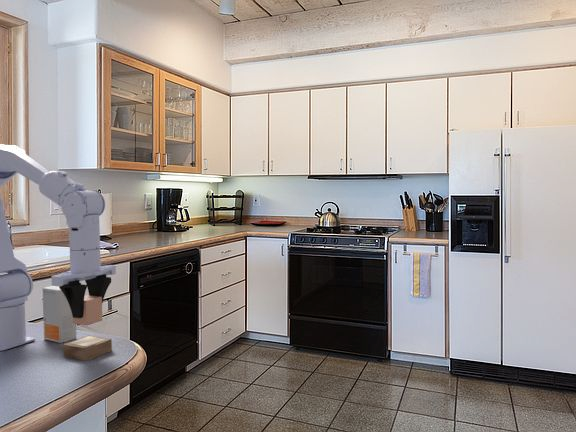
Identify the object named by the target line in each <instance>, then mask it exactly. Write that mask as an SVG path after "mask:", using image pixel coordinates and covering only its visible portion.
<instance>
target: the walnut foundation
mask: <svg viewBox="0 0 576 432" xmlns="http://www.w3.org/2000/svg"><path fill="white" fill-rule="evenodd" d="M112 343H113V342H112V338H110V337H109V338H107V337H102V336H95V335H89V334H88V335H86V336H82V337H80V338H76V339H73V340H70V341H67V342H65V343H62V352H63V355H62V356H63V357H64V358H69V359H74V360H75V359H76V360H78V361H79V360H80V361H86V362H88V361H91V360H92V359H95V358H97V357H100V356H102V355H104V354H107V353H109V352H112V351H113V347H112V345H113V344H112ZM90 359H91V360H90Z"/></svg>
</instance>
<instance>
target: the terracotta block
mask: <svg viewBox="0 0 576 432" xmlns="http://www.w3.org/2000/svg"><path fill="white" fill-rule="evenodd" d="M102 321H103V303H102V297H99V296H91V295H89V294H88V295H87V294H86V295H85V296H84V313H83V318H74V317H73V315H72V323H73V324H76V325H79V326H80V325H81V326H90V325H93V324H96V323H99V322H102Z"/></svg>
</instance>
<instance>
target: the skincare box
mask: <svg viewBox="0 0 576 432" xmlns="http://www.w3.org/2000/svg"><path fill="white" fill-rule="evenodd" d="M42 309H43V311H42V313H43V315H42V317H43V339H44V340H48V341H51V342H55V343H59V344H64V343H67V342H70V341H73V340H76V339H77V324H73V323H72V312H71V309H70V306H69V303H68V301H67V299H66V297H65V295H64V294H63V292H62V291H61V289H60V288H59V286H52V285H50V286H45V287H42ZM75 338H76V339H75ZM72 339H73V340H72ZM69 340H70V341H69ZM63 342H64V343H63Z"/></svg>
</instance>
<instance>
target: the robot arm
mask: <svg viewBox="0 0 576 432" xmlns="http://www.w3.org/2000/svg"><path fill="white" fill-rule="evenodd" d="M17 174H19V175H20V176H22V177H24V178H26V179H28V180H29V181H31V182H33V183H34V184H36V185H38V189H39V192H40V194H41V195H42V196H44V197H46V198H47V199H49V200H50V201H52V202H53V203H55V204H56V205H58V206H59V207H60V208H61V212H62V213H63V215H64V216H65V219H66V225H67V228H68V232H69V233H68V235H69V237H68V238H69V241H68V242H69V265H70V267H69V268H70V269H69V270H67V271H66V272H65V271H64V272H62V273H59V274H55V275H51V286H59V288H60V289H61V291H62V292H63V294H64V295H65V297H66V299H67V301H68V303H69V306H70V309H71V312H72V315H73V317H74V318H83V313H84V296H86V295H85V294H86V291H87V290H88V291H87V292H88V295H91V296H99V297H102V304H104V303H103V302H104V299H105V296H106V293H107V291H108V289H109V286H110V285H111V283H112V277H111V276H112V275H113V276H114V275H116V274H117V268H116V267H117V266H116V265H114V264H113V265H112V264H108V265H107V264H106V265H102V264H101V263H102V262H101V231H100V229H101V228H100V226H101V225H100V217H101V216H102V215H103V213H104V212H105V208H106V201H105V198H104V195H102V194H101V193H100V191H99V190H97V189H89V190H87V188H85V185H84V184H82V183H80V182H76V181H74V180H73V179H71V178H69V177H68V173H67V172H66V171H62V170H59V171H58V170H52V171H50V170H48V169H46V168H45V167H44V166H42V165H41V164H40V163H38V162H37V161H36V160H34V159H33V158H32V157H31V156H29V155H27V152H26V150H25V149H22V148H20V147H19V146H17V145H13V144H0V189H1V188H2V187H3V185H5V184H7V183H8V182H9V181H11V179H12V178H13V177H15V176H16V175H17ZM2 200H3V199H2V195H1V194H0V352H2V351H3V352H4V351H6V350H8V349H12V348H15V347H19V346H21V345H25V344H28V343H31V342H34V341H36V338H35V337H32V336H27V329H26V303H25V302H27V301H29V300H28V297H29V296H31V293H32V292H33V290H34V283H33V279H32V276H31V275H30V274H29V272H28V269H27V265H26V264H25V263H24V262H23V261H21V260H19V259H17V258H16V257H15V253H14V248H13V246H12V241H11V235H10V233H9V231H10V230H9V227H8V222H7V217H6V214H5V208H4V205H3V201H2ZM3 273H4V274H3ZM109 275H110V276H109ZM82 281H85V282H84V283H85V284H82Z"/></svg>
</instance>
